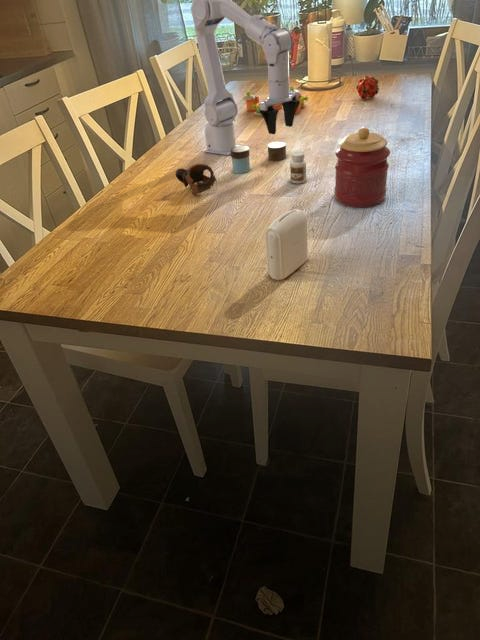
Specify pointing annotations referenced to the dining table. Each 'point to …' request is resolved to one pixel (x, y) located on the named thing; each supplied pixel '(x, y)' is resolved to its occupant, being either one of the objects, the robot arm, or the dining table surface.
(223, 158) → the dining table surface
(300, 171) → the pill bottle
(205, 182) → the pottery mug
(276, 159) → the base chip
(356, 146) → the kitchen canister
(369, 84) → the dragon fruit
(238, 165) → the cup
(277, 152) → the middle chip
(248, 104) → the toy tea set
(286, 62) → the robot arm
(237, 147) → the top chip
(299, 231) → the photo printer
